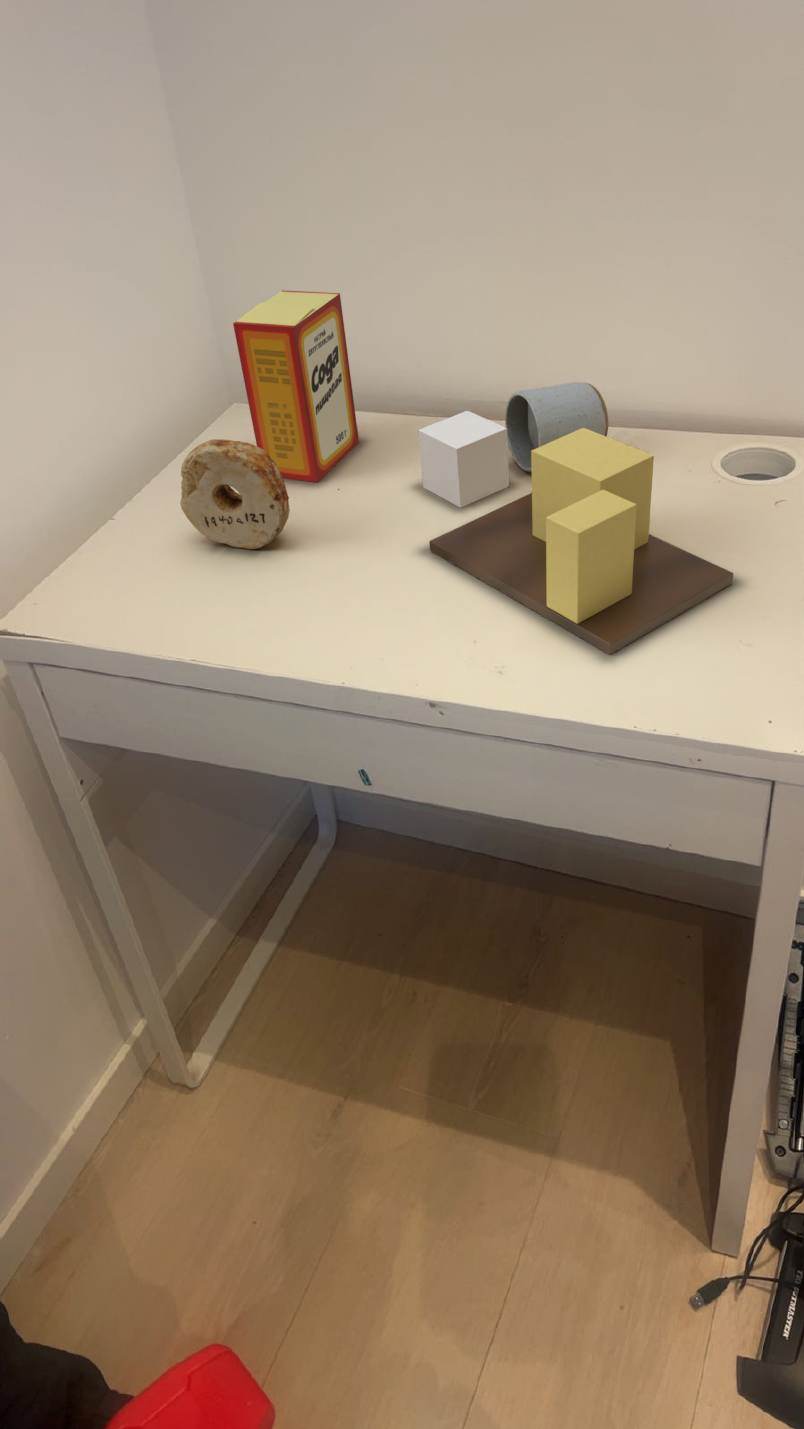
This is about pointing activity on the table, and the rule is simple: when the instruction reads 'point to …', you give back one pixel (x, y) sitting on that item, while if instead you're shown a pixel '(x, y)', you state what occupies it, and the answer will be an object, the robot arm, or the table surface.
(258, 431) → the baking soda box
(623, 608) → the butter board
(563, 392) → the ceramic mug
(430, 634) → the table surface
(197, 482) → the stone disc
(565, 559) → the block
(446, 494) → the white cube
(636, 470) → the butter block
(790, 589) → the table surface
